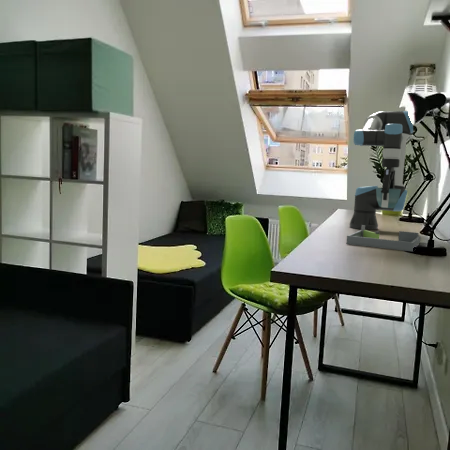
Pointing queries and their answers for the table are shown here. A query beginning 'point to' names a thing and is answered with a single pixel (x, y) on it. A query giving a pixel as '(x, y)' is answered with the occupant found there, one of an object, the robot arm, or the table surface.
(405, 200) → the robot arm
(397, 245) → the grey desk tray
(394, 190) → the flower pot
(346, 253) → the table surface
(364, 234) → the gate
